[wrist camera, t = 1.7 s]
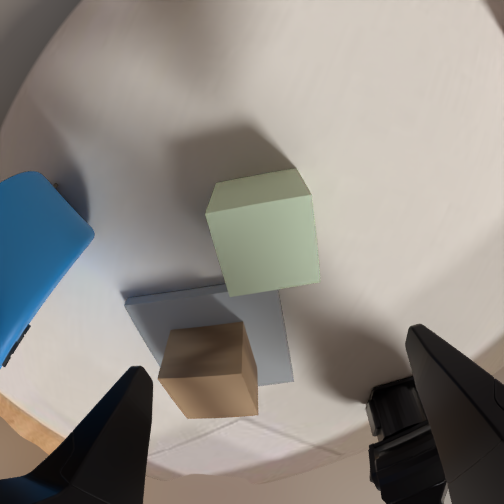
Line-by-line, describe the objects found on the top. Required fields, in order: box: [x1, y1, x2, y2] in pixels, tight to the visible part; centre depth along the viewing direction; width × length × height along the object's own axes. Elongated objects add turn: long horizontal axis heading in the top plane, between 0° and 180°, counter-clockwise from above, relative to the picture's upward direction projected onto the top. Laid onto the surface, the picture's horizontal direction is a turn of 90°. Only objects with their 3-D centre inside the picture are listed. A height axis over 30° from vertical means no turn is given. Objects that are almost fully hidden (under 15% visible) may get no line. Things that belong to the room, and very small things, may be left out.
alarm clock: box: [0, 171, 95, 369], centre depth 13 cm, size 13×6×15 cm, turn 129°
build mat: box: [124, 284, 294, 386], centre depth 25 cm, size 12×12×1 cm
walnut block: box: [158, 321, 258, 419], centre depth 22 cm, size 6×6×5 cm
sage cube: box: [205, 168, 320, 297], centre depth 17 cm, size 5×5×5 cm
